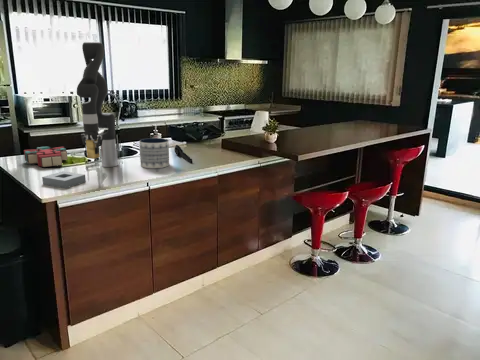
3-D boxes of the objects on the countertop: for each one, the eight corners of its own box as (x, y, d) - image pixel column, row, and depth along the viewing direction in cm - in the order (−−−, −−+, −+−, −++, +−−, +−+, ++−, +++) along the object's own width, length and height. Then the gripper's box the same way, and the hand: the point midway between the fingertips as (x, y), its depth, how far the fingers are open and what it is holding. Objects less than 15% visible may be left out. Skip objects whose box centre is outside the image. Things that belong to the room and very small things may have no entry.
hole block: (63, 178, 220) (63, 171, 219) (85, 181, 214) (85, 174, 213) (42, 184, 207) (42, 177, 206) (65, 188, 201) (64, 180, 200)
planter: (137, 168, 245) (135, 142, 240) (145, 161, 262) (143, 137, 258) (165, 169, 244) (164, 143, 240) (171, 162, 262) (171, 138, 257)
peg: (93, 156, 218) (91, 138, 215) (99, 157, 217) (98, 139, 214) (87, 157, 214) (85, 139, 211) (93, 158, 213) (92, 140, 210)
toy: (73, 167, 249) (62, 156, 272) (72, 153, 247) (61, 143, 270) (31, 172, 236) (23, 160, 259) (29, 157, 233) (21, 146, 256)
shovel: (194, 164, 261) (194, 153, 259) (189, 164, 259) (188, 153, 257) (177, 153, 291) (177, 143, 289) (172, 154, 289) (172, 144, 287)
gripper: (105, 122, 211) (108, 153, 216) (85, 120, 216) (88, 150, 221) (96, 124, 204) (98, 156, 209) (75, 122, 209) (78, 153, 214)
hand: (93, 153), depth 215 cm, fingers closed on peg, 4 cm apart
